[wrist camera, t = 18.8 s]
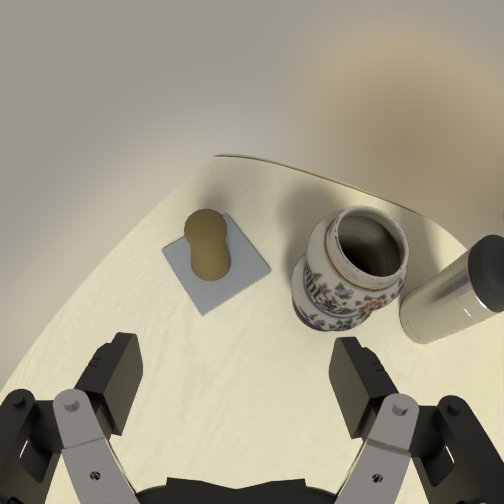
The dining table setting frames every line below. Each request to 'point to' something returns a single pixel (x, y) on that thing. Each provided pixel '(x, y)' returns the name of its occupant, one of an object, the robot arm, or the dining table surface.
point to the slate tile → (236, 280)
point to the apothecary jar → (349, 269)
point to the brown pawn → (208, 244)
